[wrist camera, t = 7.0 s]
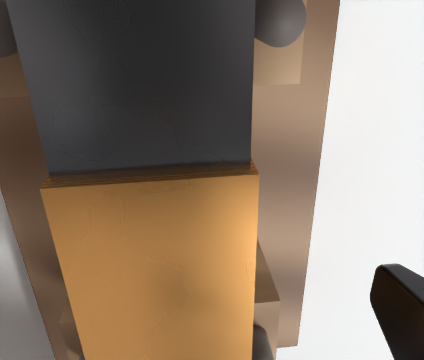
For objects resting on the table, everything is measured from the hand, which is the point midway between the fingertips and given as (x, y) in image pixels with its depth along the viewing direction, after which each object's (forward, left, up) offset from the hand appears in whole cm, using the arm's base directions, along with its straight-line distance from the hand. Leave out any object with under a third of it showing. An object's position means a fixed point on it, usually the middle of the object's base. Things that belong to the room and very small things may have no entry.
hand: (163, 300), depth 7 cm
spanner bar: (0, 0, -3) cm, 3 cm away
